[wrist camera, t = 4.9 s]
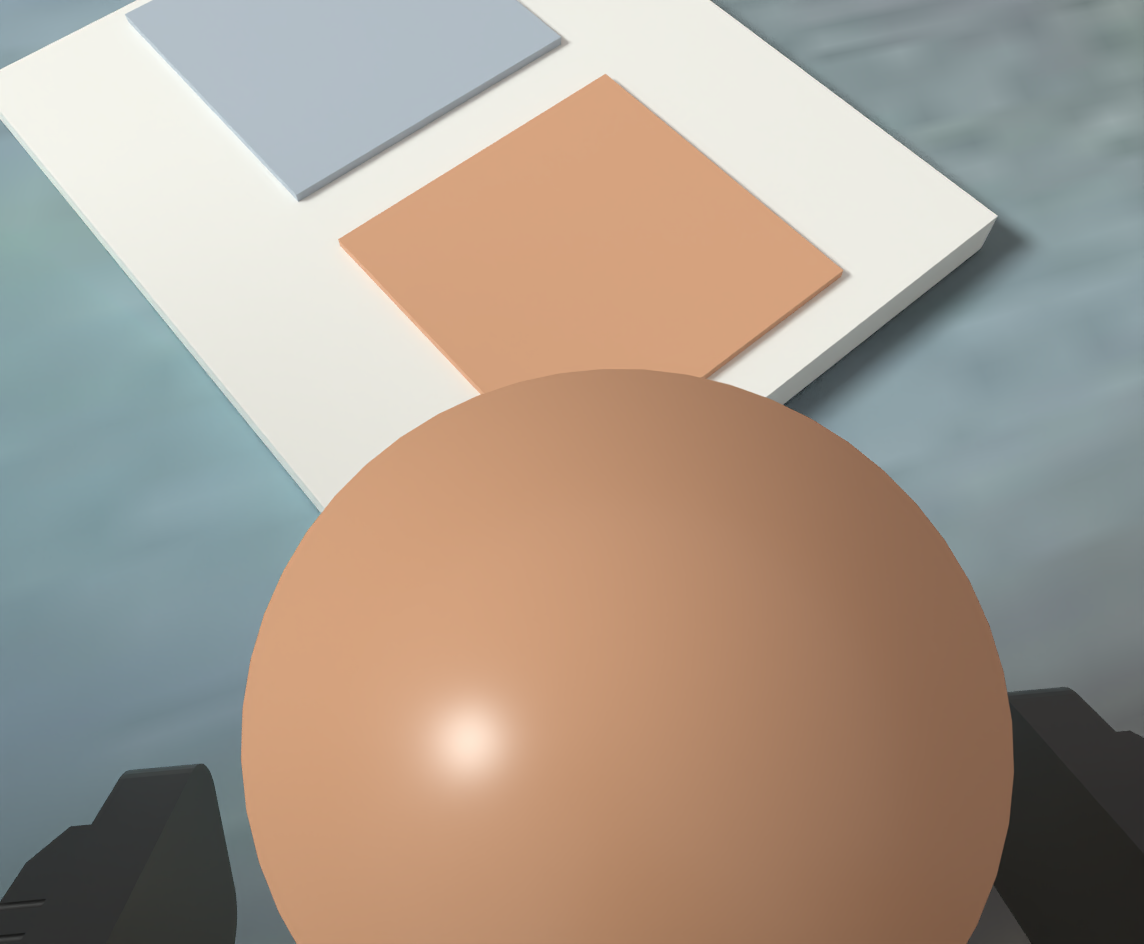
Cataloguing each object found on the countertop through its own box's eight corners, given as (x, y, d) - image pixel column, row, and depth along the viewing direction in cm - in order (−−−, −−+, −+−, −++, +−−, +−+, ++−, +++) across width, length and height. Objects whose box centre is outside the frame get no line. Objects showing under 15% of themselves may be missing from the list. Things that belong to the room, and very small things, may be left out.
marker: (582, 1128, 15) (583, 1377, 5) (408, 887, 17) (99, 647, 6) (790, 922, 16) (1177, 733, 6) (610, 715, 18) (651, 261, 7)
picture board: (447, 669, 18) (440, 647, 17) (-2, 116, 24) (-30, 74, 23) (981, 248, 22) (1001, 209, 21) (482, -136, 28) (477, -181, 27)
